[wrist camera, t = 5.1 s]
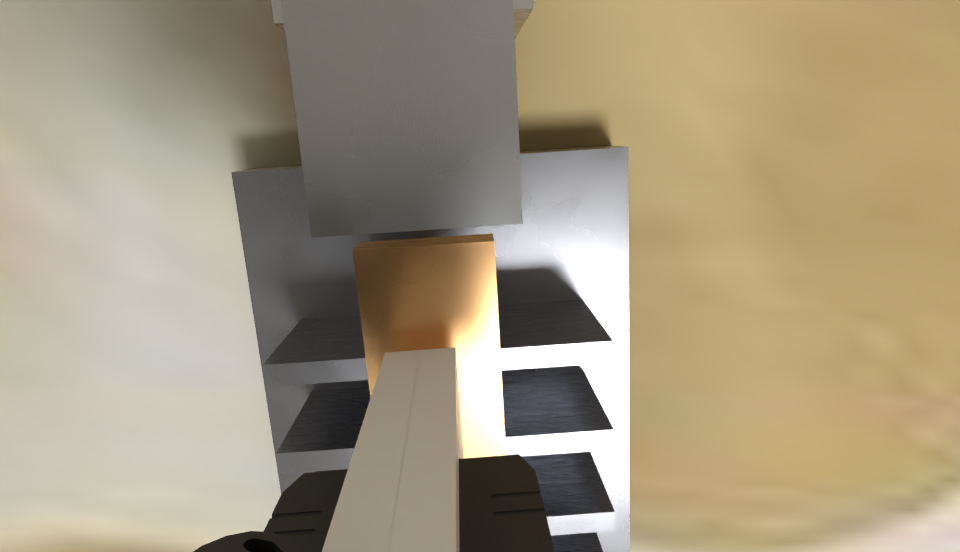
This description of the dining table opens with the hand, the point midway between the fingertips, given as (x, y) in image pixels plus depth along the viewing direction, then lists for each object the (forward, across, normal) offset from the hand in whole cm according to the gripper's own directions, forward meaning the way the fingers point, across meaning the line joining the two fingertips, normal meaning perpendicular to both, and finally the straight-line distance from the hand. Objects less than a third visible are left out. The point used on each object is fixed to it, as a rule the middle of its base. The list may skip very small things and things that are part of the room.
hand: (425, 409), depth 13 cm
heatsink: (+9, 0, -5) cm, 10 cm away
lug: (+9, 0, +8) cm, 12 cm away
